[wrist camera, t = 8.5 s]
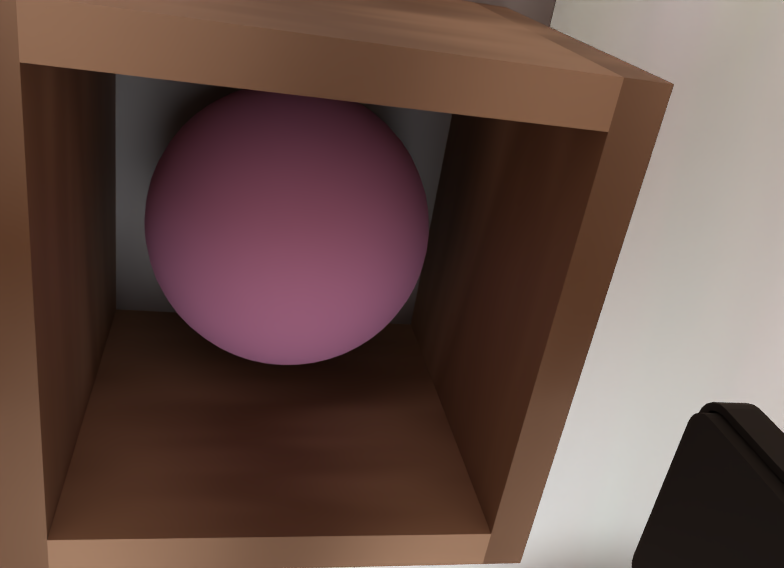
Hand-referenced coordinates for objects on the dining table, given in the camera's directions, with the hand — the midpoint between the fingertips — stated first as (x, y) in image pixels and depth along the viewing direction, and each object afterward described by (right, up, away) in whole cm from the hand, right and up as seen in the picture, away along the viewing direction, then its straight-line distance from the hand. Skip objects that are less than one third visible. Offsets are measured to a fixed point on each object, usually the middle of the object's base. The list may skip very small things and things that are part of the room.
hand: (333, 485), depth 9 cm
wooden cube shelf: (-2, +6, +10) cm, 12 cm away
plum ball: (-2, +5, +10) cm, 11 cm away
